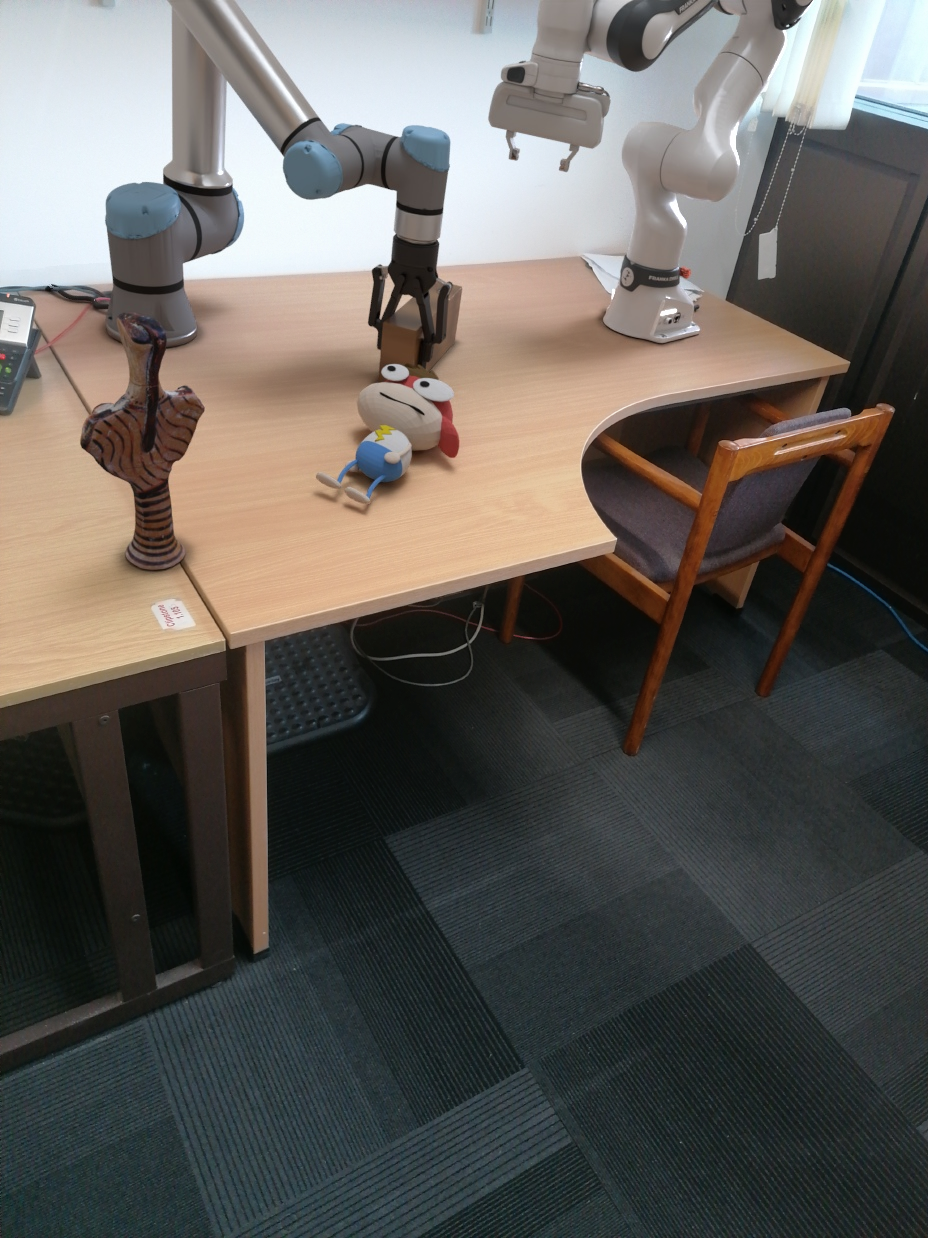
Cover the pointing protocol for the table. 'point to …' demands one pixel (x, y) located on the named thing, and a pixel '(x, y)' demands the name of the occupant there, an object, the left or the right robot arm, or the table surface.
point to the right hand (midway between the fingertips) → (538, 164)
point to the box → (416, 332)
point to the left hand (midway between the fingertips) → (402, 372)
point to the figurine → (145, 440)
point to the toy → (399, 425)
